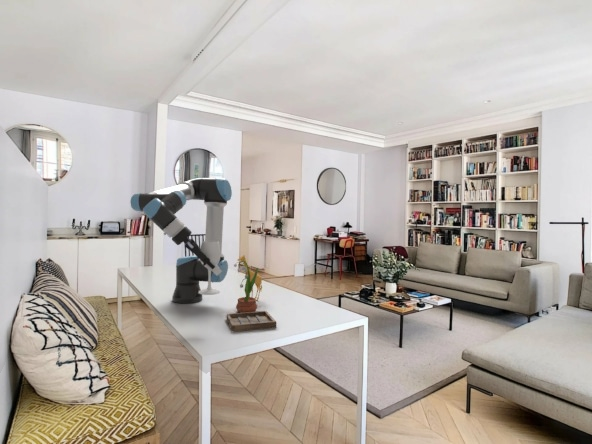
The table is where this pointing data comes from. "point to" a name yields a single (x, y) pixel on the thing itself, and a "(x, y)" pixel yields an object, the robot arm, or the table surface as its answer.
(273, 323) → the wooden tray
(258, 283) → the yellow flower sprig
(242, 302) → the potted flower
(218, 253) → the wineglass
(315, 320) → the table surface
